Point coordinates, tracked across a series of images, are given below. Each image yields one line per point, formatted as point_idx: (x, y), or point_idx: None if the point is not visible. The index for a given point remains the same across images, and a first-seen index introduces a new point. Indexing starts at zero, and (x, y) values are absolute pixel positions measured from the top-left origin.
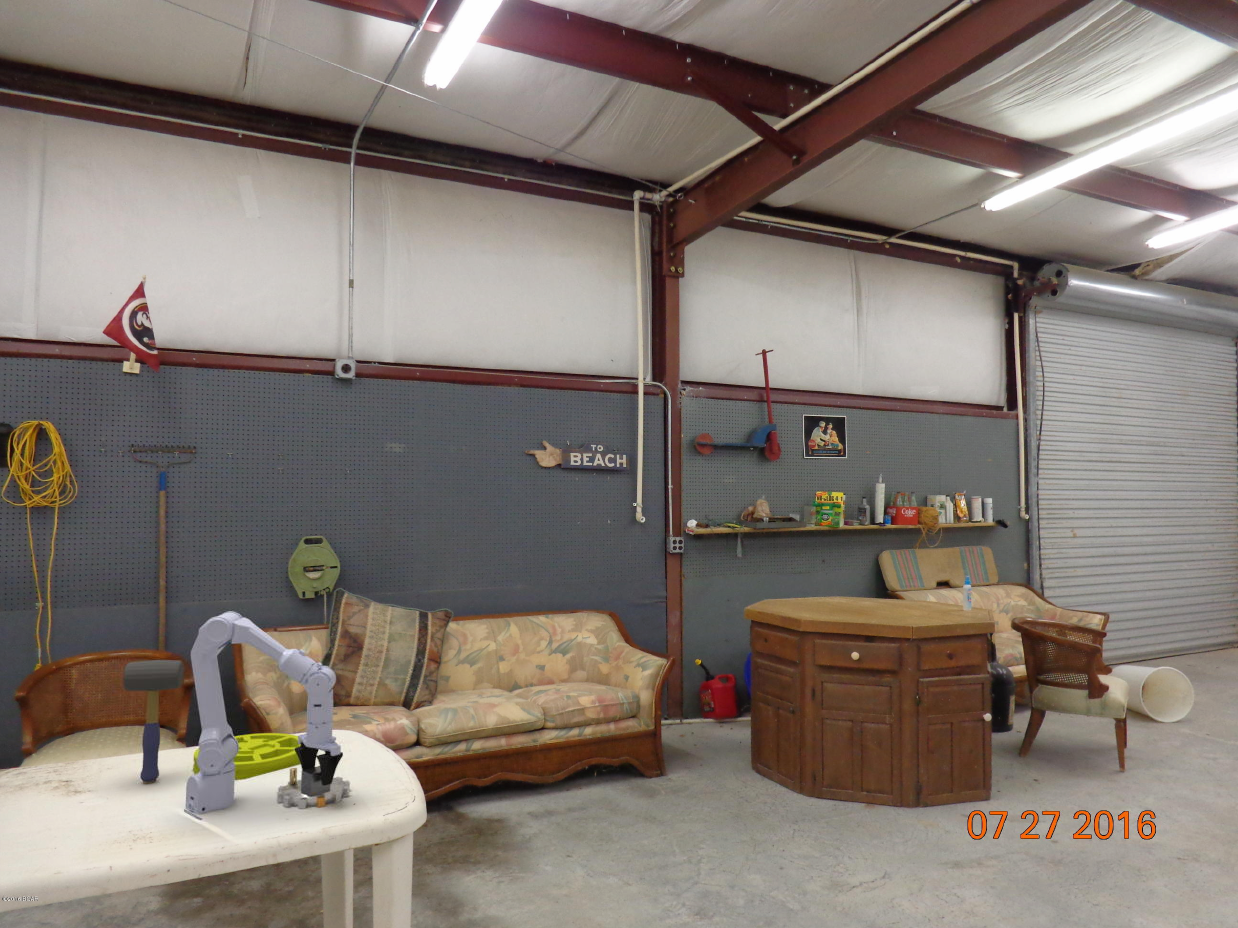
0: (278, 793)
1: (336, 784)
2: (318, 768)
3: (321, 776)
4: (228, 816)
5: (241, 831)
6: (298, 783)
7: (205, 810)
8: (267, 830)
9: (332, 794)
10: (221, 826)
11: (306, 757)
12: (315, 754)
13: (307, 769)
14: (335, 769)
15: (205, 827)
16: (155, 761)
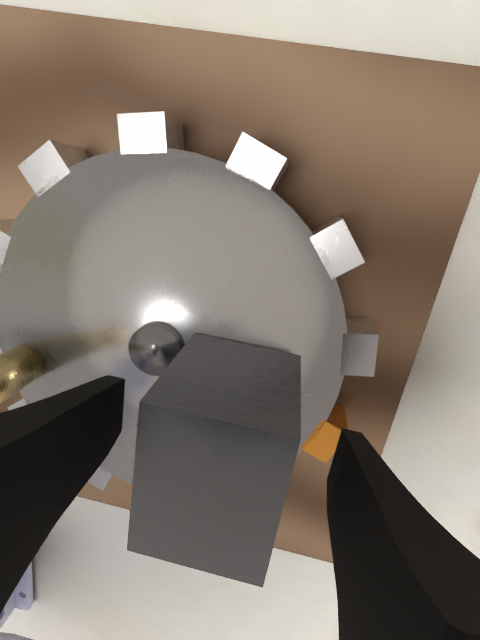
0: (95, 483)
1: (238, 244)
2: (192, 470)
3: (335, 547)
4: (66, 555)
5: (216, 623)
6: (41, 343)
7: (5, 606)
8: (285, 597)
9: (344, 374)
10: (127, 612)
11: (18, 542)
12: (9, 464)
13: (139, 517)
14: (418, 505)
15: (96, 628)
16: None
